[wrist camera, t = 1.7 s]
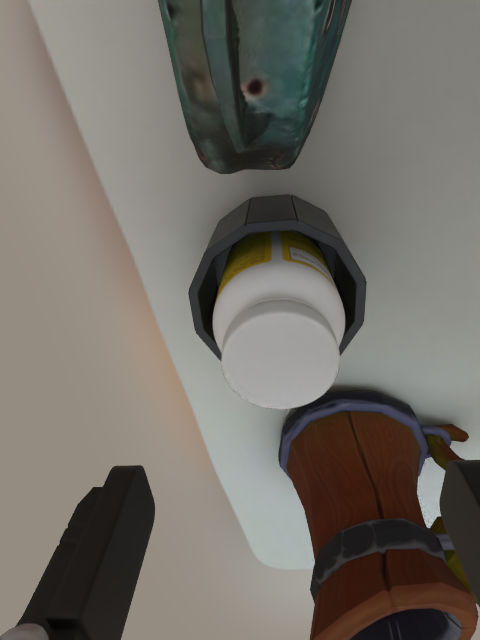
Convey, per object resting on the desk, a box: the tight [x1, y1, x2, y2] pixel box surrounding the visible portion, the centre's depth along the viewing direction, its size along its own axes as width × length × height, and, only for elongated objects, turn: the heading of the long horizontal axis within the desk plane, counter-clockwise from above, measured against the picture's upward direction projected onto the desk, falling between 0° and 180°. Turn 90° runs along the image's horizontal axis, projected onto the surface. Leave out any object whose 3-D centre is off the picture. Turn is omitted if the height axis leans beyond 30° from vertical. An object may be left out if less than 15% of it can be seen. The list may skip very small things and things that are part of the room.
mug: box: [279, 392, 478, 640], centre depth 24 cm, size 18×12×15 cm, turn 104°
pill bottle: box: [213, 230, 345, 409], centre depth 20 cm, size 6×6×11 cm
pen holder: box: [188, 195, 366, 361], centre depth 22 cm, size 9×9×6 cm
